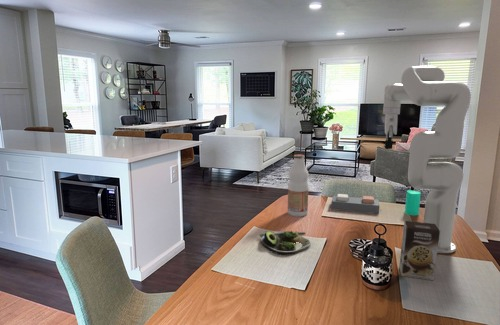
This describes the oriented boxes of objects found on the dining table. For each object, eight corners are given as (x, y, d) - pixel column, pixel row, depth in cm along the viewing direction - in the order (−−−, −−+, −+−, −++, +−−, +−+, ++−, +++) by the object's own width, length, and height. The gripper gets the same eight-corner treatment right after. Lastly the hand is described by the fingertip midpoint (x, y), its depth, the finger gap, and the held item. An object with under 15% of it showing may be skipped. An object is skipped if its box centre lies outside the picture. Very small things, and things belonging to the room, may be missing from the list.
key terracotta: (373, 203, 165) (373, 196, 164) (373, 206, 160) (373, 199, 159) (362, 202, 166) (362, 195, 166) (362, 205, 162) (362, 198, 161)
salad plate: (291, 230, 139) (292, 219, 138) (322, 246, 125) (323, 234, 124) (253, 240, 129) (253, 229, 128) (281, 259, 114) (281, 247, 113)
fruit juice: (291, 217, 152) (292, 157, 147) (284, 211, 161) (285, 153, 156) (310, 216, 154) (312, 156, 149) (303, 209, 163) (304, 153, 158)
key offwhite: (347, 201, 168) (348, 194, 168) (347, 204, 164) (347, 197, 163) (337, 200, 170) (337, 193, 169) (336, 203, 165) (337, 196, 165)
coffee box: (401, 276, 103) (406, 227, 100) (399, 266, 109) (403, 219, 106) (434, 281, 100) (440, 230, 97) (430, 270, 106) (435, 222, 103)
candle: (401, 212, 160) (404, 187, 157) (410, 210, 162) (413, 186, 160) (412, 216, 154) (415, 191, 152) (421, 214, 157) (424, 189, 155)
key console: (377, 207, 167) (378, 199, 166) (378, 213, 158) (379, 205, 157) (332, 202, 174) (333, 195, 173) (331, 208, 164) (331, 201, 163)
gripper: (401, 111, 154) (398, 151, 157) (398, 110, 168) (395, 146, 171) (384, 111, 156) (381, 150, 159) (382, 110, 170) (379, 146, 173)
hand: (388, 148), depth 165 cm, fingers closed
